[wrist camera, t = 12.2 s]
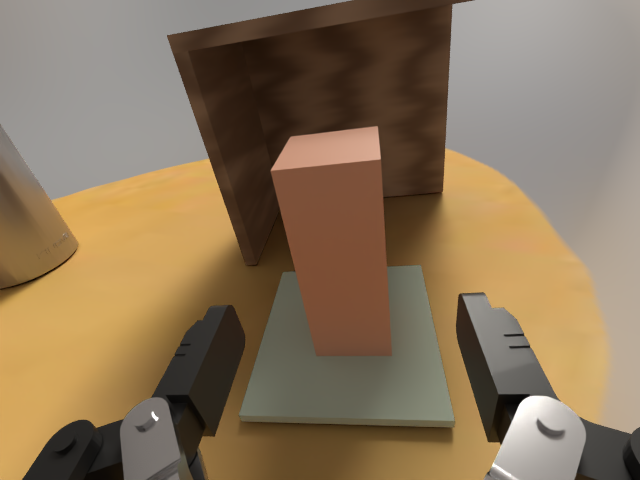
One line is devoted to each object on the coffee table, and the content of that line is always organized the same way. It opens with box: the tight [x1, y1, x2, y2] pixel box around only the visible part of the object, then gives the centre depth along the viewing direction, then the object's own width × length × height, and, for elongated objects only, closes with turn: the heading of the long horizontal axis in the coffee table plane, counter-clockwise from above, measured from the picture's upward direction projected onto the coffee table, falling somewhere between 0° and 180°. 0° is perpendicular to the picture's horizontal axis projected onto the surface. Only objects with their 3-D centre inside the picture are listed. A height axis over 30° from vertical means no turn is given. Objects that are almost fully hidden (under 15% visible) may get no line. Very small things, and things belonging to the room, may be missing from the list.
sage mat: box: [239, 265, 455, 427], centre depth 22 cm, size 11×12×1 cm
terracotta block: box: [271, 126, 392, 356], centre depth 19 cm, size 4×4×12 cm
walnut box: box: [167, 0, 472, 265], centre depth 29 cm, size 19×12×18 cm, turn 84°
